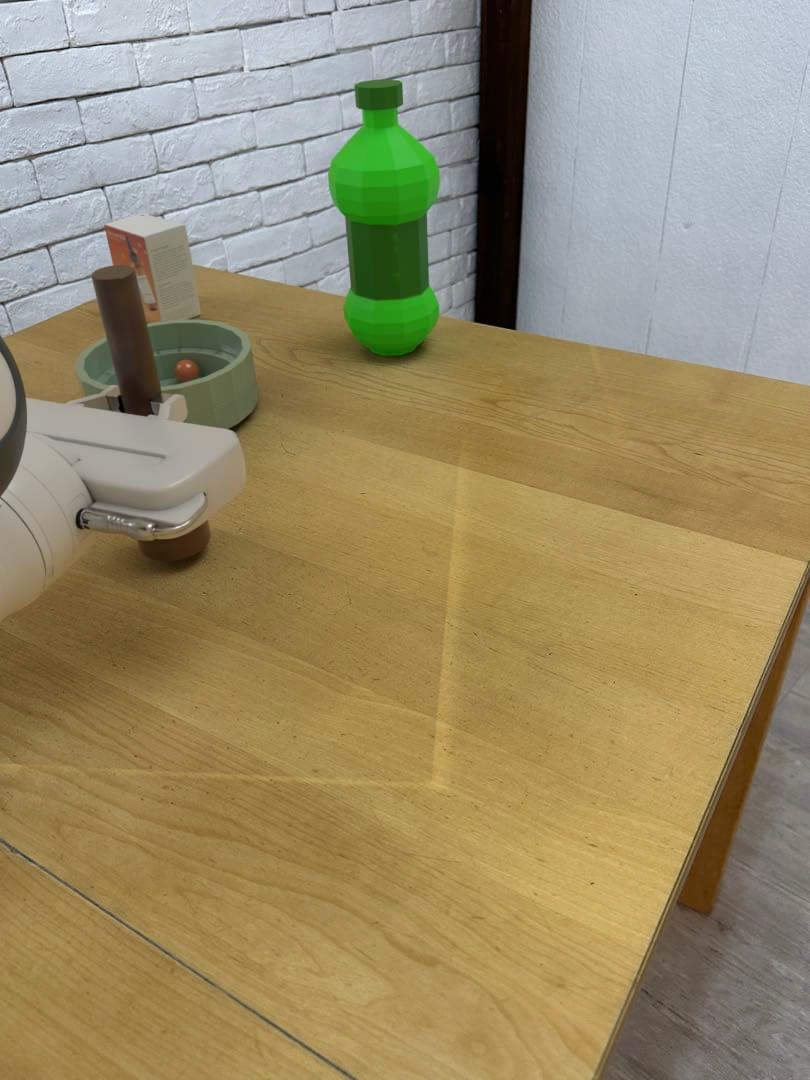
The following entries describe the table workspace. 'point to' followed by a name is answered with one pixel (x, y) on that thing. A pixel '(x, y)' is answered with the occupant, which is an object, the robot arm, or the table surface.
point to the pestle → (137, 379)
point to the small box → (157, 264)
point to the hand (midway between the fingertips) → (151, 399)
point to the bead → (186, 371)
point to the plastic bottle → (386, 224)
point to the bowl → (216, 352)
